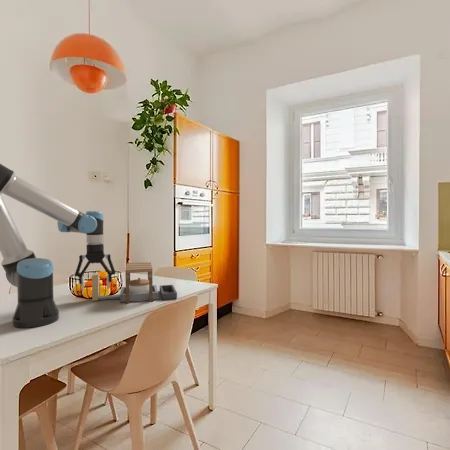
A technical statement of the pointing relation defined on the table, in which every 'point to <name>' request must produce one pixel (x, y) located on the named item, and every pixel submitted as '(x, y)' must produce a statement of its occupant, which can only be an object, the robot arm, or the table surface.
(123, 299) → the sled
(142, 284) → the lidded jar
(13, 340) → the table surface
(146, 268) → the tunnel
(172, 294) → the box
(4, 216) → the robot arm
